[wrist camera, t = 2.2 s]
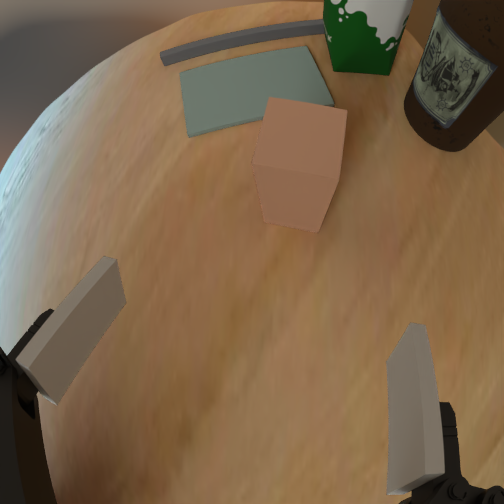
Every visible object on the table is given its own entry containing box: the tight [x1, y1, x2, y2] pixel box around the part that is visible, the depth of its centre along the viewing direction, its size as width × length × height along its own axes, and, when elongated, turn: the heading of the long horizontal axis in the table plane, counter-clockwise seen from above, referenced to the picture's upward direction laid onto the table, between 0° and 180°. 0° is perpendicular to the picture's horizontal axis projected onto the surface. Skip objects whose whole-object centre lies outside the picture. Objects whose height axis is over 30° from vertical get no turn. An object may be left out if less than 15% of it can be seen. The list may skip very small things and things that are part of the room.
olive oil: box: [404, 0, 504, 152], centre depth 17 cm, size 11×11×25 cm
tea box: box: [251, 97, 347, 233], centre depth 23 cm, size 5×5×12 cm
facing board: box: [180, 46, 334, 138], centre depth 32 cm, size 16×10×1 cm, turn 102°
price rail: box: [160, 19, 325, 66], centre depth 33 cm, size 28×1×2 cm, turn 102°
